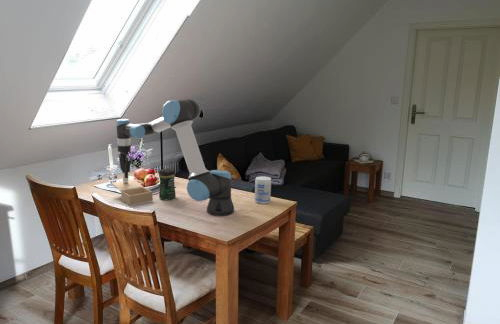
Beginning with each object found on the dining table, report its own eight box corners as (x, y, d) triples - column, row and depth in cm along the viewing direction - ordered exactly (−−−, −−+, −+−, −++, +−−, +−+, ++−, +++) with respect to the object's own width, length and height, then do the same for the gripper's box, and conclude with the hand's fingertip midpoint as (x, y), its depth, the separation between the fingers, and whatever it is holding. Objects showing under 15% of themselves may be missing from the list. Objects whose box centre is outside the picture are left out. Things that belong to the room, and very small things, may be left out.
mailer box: (152, 201, 231) (152, 191, 229) (130, 206, 222) (129, 196, 220) (143, 196, 240) (143, 187, 238) (121, 200, 231) (121, 191, 229)
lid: (134, 179, 247) (134, 180, 247) (112, 183, 238) (112, 183, 238) (143, 186, 239) (143, 187, 239) (120, 190, 229) (120, 191, 230)
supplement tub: (257, 204, 228) (257, 180, 224) (252, 200, 236) (252, 176, 233) (272, 203, 230) (273, 179, 227) (267, 198, 239) (268, 175, 236)
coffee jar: (166, 201, 231) (165, 171, 227) (157, 198, 236) (156, 169, 232) (178, 197, 239) (177, 168, 235) (169, 195, 243) (168, 166, 239)
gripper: (134, 146, 232) (136, 184, 237) (125, 142, 242) (126, 179, 247) (122, 147, 227) (124, 186, 233) (113, 143, 237) (115, 181, 242)
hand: (125, 182), depth 240 cm, fingers closed
